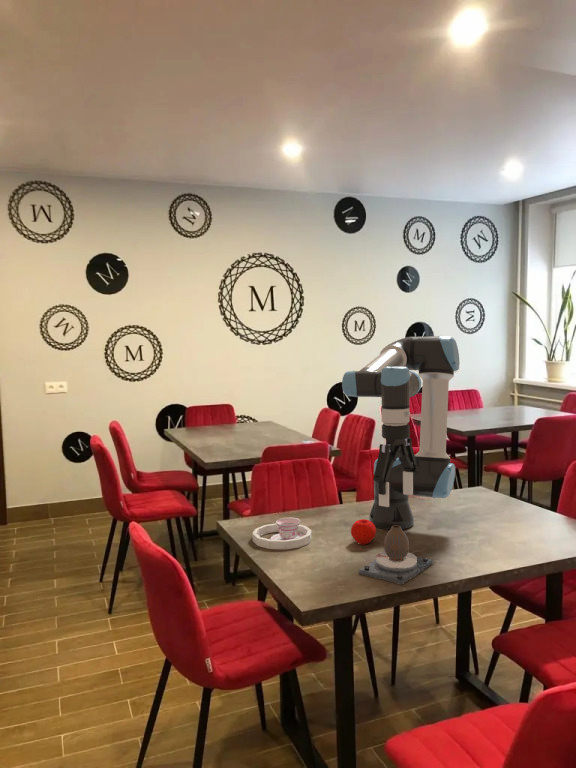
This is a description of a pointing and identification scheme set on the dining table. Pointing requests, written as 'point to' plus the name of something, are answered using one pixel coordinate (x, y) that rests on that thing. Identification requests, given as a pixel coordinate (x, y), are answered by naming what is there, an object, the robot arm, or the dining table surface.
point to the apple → (363, 531)
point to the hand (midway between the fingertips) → (396, 500)
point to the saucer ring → (281, 543)
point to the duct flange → (395, 567)
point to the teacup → (287, 529)
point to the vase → (396, 543)
